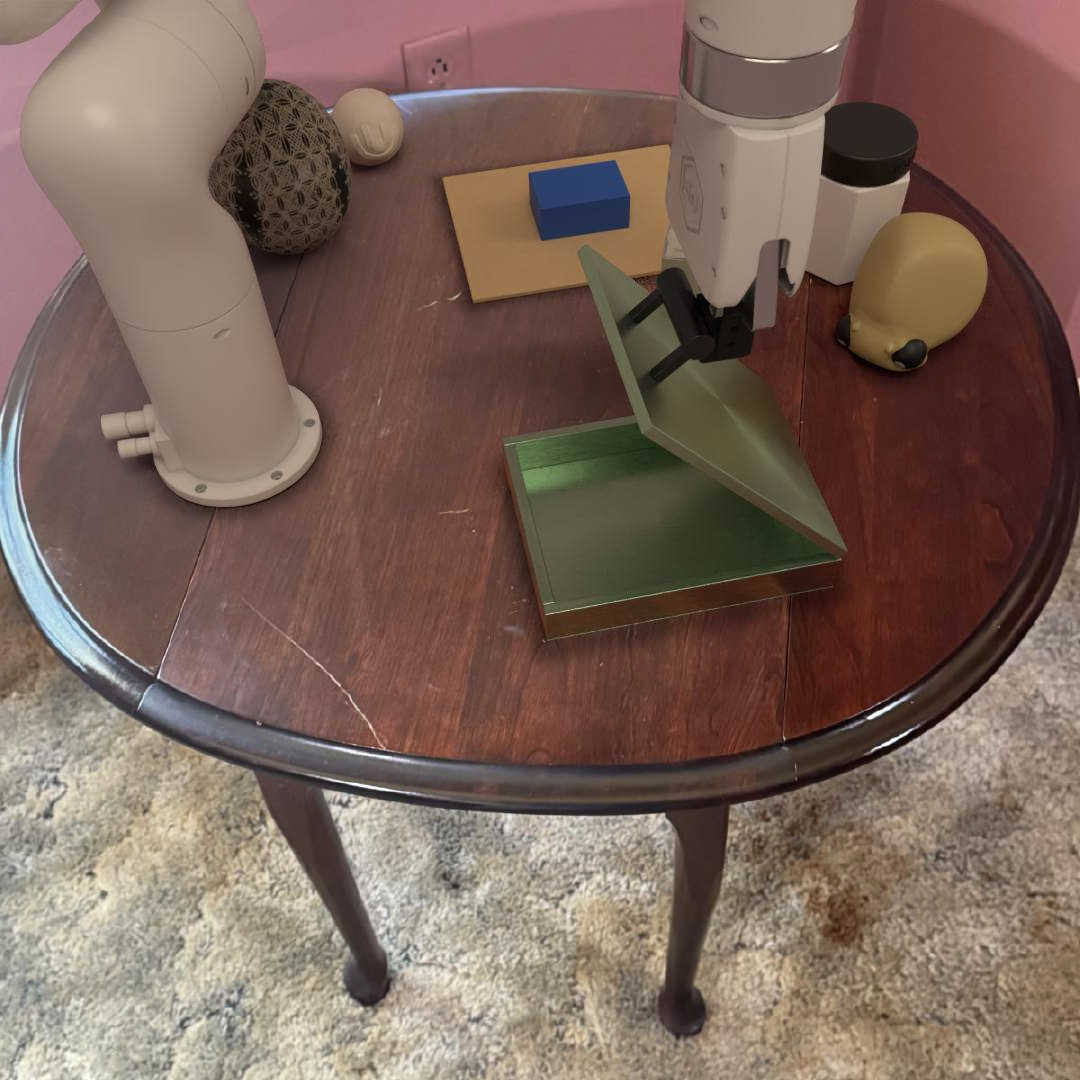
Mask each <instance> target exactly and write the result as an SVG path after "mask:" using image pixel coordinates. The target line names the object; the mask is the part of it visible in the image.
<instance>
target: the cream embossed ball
mask: <svg viewBox="0 0 1080 1080" xmlns="http://www.w3.org/2000/svg"><path fill="white" fill-rule="evenodd" d="M330 116H331V118H332V119H333V121H334V122H335V124H336V126H337V128H338V130H339V132H340V134H341V136H342V138H343V141H344V144H345V146H346V149H347V153H348V156H349V161H350V162H352V163H354V164H356V165H360V166H367V167H368V166H371V167H372V166H378V165H381V164H384V163H385V162H388V161H389V160H391V159H392V158H393V157H394V156H395V155H396V154H397V153H398V151H399V150H400V149H401V147H402V143H403V139H404V134H405V128H404V127H405V126H404V121H403V117H402V113H401V110H400V109H399V107H398V105H397V104H396V102H395V100H394V99H393V98H392V97H390V96H389V95H387V94H386V93H385V92H384V91H382V90H379V89H376V88H370V87H358V88H354V89H351V90H349V91H347V92H346V93H344V94H343V95H342V96H341V97H340V98H339V99H338V100H337V101H336V103H335V104H334V106H333V108H332V111H331V113H330Z"/></svg>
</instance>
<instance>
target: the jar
mask: <svg viewBox="0 0 1080 1080" xmlns="http://www.w3.org/2000/svg"><path fill="white" fill-rule="evenodd" d="M824 116H825V129H824V143H823V155H822V166H821V176H820V184H819V193H818V200H817V208H816V215H815V221H814V228H813V234H812V239H811V245H810V250H809V255H808V260H807V264H806V268H805V272H806V273H809V274H810V275H813V276H816V277H817V278H820V279H822V280H824V281H826V282H828V283H831V284H832V285H834V286H841V285H846V284H849V283H854V280H855V277H856V274H857V271H858V269H859V266H860V264H861V262H862V260H863V257H864V255H865V253H866V251H867V249H868V248H869V246H870V244H871V242H872V241H873V239H874V237H875V236H876V234H877V233H878V232H879V230H880V229H881V228H882V227H883V226H884V225H885V224H886V223H887V222H888V221H889V220H890V219H892V218H894V217H896V216H898V215H901V214H902V210H903V206H904V202H905V200H906V195H907V192H908V188H909V184H910V181H911V178H910V177H911V174H910V171H911V167H912V165H913V162H914V161H915V157H916V154H917V150H918V142H919V137H920V136H919V135H920V134H919V130H918V127H917V125H916V123H915V122H914V120H913V119H912V118H910V117H909V116H908V115H907V114H906V113H904V112H902V111H901V110H898V109H896V108H895V107H893V106H889V105H886V104H883V103H882V104H881V103H879V102H872V101H849V102H842V103H839V104H834V105H833V106H832V107H831V108H830V110H828V111H827V112H826V113H825V114H824Z"/></svg>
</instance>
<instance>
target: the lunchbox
mask: <svg viewBox="0 0 1080 1080" xmlns="http://www.w3.org/2000/svg"><path fill="white" fill-rule="evenodd" d="M501 447H502V458H503V467H504V471H505V475H506V480H507V483H508V488H509V491H510V496H511V500H512V503H513V504H512V505H513V508H514V512H515V516H516V520H517V524H518V529H519V532H520V536H521V541H522V545H523V549H524V554H525V557H526V561H527V565H528V569H529V573H530V577H531V581H532V585H533V586H532V587H533V590H534V594H535V599H536V602H537V603H536V604H537V606H538V610H539V614H540V617H541V622H542V626H543V631H544V636H545V639H546V641H547V642H549V641H555V640H560V639H566V638H569V637H575V636H580V635H585V634H590V633H596V632H597V633H598V632H602V631H607V630H612V629H617V628H622V627H623V628H624V627H628V626H632V625H633V626H634V625H640V624H644V623H650V622H655V621H660V620H665V619H666V620H667V619H670V618H675V617H681V616H687V615H692V614H697V613H702V612H707V611H713V610H718V609H723V608H730V607H734V606H740V605H744V604H750V603H755V602H760V601H765V600H772V599H776V598H781V597H788V596H792V595H797V594H803V593H807V592H808V593H809V592H813V591H814V592H815V591H819V590H825V589H830V588H833V587H835V583H836V580H837V577H838V573H839V570H840V567H841V563H842V556H841V557H840V558H837V557H836V556H834V555H833V554H831V553H829V552H828V551H826V550H825V549H823V548H821V547H820V546H818V545H817V544H815V543H814V542H812V541H810V540H809V539H807V538H806V537H804V536H802V535H801V534H799V533H798V532H796V531H795V530H793V529H791V528H790V527H788V526H787V525H785V524H783V523H782V522H780V521H779V520H777V519H776V518H774V517H772V516H771V515H769V514H768V513H766V512H764V511H763V510H761V509H760V508H758V507H757V506H755V505H753V504H752V503H750V502H749V501H747V500H745V499H744V498H742V497H741V496H739V495H737V494H736V493H734V492H733V491H731V490H730V489H728V488H726V487H725V486H723V485H722V484H720V483H718V482H717V481H715V480H714V479H712V478H711V477H709V476H707V475H706V474H704V473H703V472H701V471H699V470H698V469H696V468H695V467H693V466H692V465H690V464H688V463H687V462H685V461H684V460H682V459H680V458H679V457H677V456H676V455H674V454H673V453H671V452H669V451H668V450H666V449H665V448H663V447H661V446H660V445H658V444H657V443H655V442H654V441H652V440H650V439H649V438H647V437H646V436H644V435H642V434H641V431H640V429H639V426H638V423H637V420H636V417H635V415H628V416H622V417H614V418H610V419H603V420H598V421H593V422H586V423H581V424H575V425H568V426H562V427H556V428H550V429H545V430H540V431H533V432H528V433H521V434H515V435H510V436H504V437H503V436H502V437H501Z"/></svg>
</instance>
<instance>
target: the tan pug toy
mask: <svg viewBox="0 0 1080 1080" xmlns="http://www.w3.org/2000/svg"><path fill="white" fill-rule="evenodd" d="M988 274H989V269H988V261H987V257H986V253H985V251H984V249H983V247H982V245H981V243H980V242H979V240H978V238H977V237H976V236H975V235H974V234H973V233H972V232H971V231H970V230H969V229H968V228H967V227H965V226H963V225H962V224H961V223H959V222H958V221H956V220H954V219H952V218H951V217H948V216H945V215H941V214H938V213H933V212H925V211H924V212H923V211H919V212H918V211H916V212H915V211H914V212H907V213H906V212H905V213H901V214H900V215H898V216H896V217H894V218H892V219H890V220H889V221H888V222H887V223H886V224H885V225H884V226H883V227H882V228H881V229H880V230H879V232H878V233H877V234H876V236H875V237H874V239H873V241H872V242H871V244H870V246H869V248H868V249H867V251H866V253H865V255H864V257H863V260H862V262H861V264H860V266H859V269H858V271H857V274H856V277H855V280H854V281H853V282H852V287H851V293H850V300H849V307H848V314H845V315H843V316H842V317H841V318H840V319H839V321H838V322H837V324H836V326H835V331H834V333H835V334H834V335H835V337H836V339H837V341H838V342H839V344H841V345H843V346H845V347H847V349H848V350H849V351H851V352H852V353H853V354H854V355H856V356H858V358H861V359H863V360H865V362H866V361H867V362H868V363H870V364H873V365H874V366H877V367H880V368H882V369H884V370H885V369H886V370H889V371H894V372H909V371H913V370H916V369H919V368H921V367H922V366H924V365H925V364H926V362H927V360H928V353H929V351H931V350H932V349H935V348H936V347H938V346H940V345H942V344H944V343H946V342H948V341H950V340H951V339H952V338H954V337H955V336H957V335H958V334H959V333H960V332H961V331H962V330H964V328H966V326H967V325H968V324H969V323H970V321H972V319H973V318H974V316H975V314H976V313H977V311H978V310H979V308H980V306H981V304H982V301H983V299H984V296H985V293H986V289H987V285H988Z"/></svg>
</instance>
